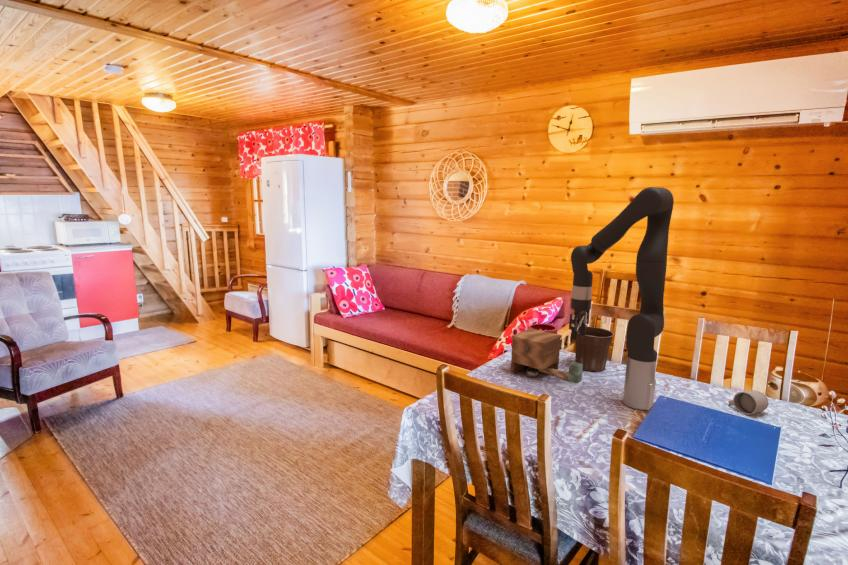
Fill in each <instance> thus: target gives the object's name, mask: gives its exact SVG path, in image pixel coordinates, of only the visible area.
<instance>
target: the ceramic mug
mask: <svg viewBox="0 0 848 565" xmlns="http://www.w3.org/2000/svg"><path fill="white" fill-rule="evenodd" d="M727 402H728V405H729V406H734V408H735V409H736V410H737V411H738V412H739V413H741V414H742V415H745V416H746V415H747V416H750V415H754V414H757V413H761V412H764V411H765V410H767V408H768V407H769V399H768V397H767V395H765V394H764V393H763V392H761V391H758V390H745V391H744V390H743V391H740V392H737V393H736V394H735V395H734V396H733V398H732V399H729V400H728V401H727Z"/></svg>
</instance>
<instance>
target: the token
mask: <svg viewBox="0 0 848 565" xmlns="http://www.w3.org/2000/svg"><path fill="white" fill-rule="evenodd" d="M539 373H540V372H539V370H538V369H535V368H529V367H528V368H526V370H525V376H526V377H527V378H530V379H538V378H539Z"/></svg>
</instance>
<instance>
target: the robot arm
mask: <svg viewBox="0 0 848 565" xmlns="http://www.w3.org/2000/svg"><path fill="white" fill-rule="evenodd" d="M673 210H674V195H673V193H672V192H671V191H670V190H669V189H668V188H665V187H658V186H649V187H645V188H643V189H642V190H640V192H638V194H637V195H635V197H634V198H633V199H632V200H630V202H629V204H627V206H626V207H625V208H624V209H623V210H622V211H621V212H619V214H618V215H617V216H616V217H615V218H614V219H612V220H611V221H610V222H609V223H608V224H606V225H605V226H604V227H602V228H601V229H600V230H599V231H598V232H596V234H594V235H593V236H592V237H591V240H590V243H588V244H587V245H578V246H576V247H574V248H572V251H571V254H570V262H571V269H572V272H573V278H572V287H571V296H570V305H569V306H570V309H571V310H573V313H570V315H569V324H568V330H571V332H570V339H571V340H572V341H576V340H577V335H578V328H579V327H580V332H579V334H580V335H582V336H585V334H586V326H587V327H588V325H589V324H590V312H591V309H592V298H593V276H594V274H593V272H592V271H591V270H589V268H588V264H589V265H590V264H593V263H595V262H597V261H598V260H600V258H601V257H602V256H603V255H604V254H605V252H606V251H607V250H609V249H610V248H612V247H613V246H614V245H615V244H617V243H618V242H619V241H620V240H622V238H624V236H625V235H626V234H627V232H628V231H629V230H630V229H631V228H632V227H633V226H634V225H635V224H636V223H638V222H640V221H641V220H643V219H645V218H647V220H646V229H645V234H644V236H643V239H642V241H641V242H640V245H639V247H638V250H637V254H636V260H635V278H636V282H637V285H638V288H639V292H640V308H639V313H637V314H634V315H632V316H631V317H630V318H629V320H628V323H627V328H626V339H625V340H626V341H625V345H626V350H627V357H626V364H625V375H624V377H625V378H624V384H623V385H624V386H623V396H622V403H623V404H624V405H625V406H627V407H629V408H632V409H635V410H640V411H641V410H645V411H650V410H651V408H652V407H653V406H654V400H655V393H656V392H655V391H656V385H657V384H656V383H657V380H656V379H655V378H656V368H657V361H658V352H657V351H656V349H655V338H656V337H658V336H659V335H661V334H662V332H663V330H664V327H665V310H664V308H665V306H664V294H665V286H666V275H667V263H668V247H669V246H668V245H669V234H670V232H669V231H670V224H671V218H672V214H673Z"/></svg>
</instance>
